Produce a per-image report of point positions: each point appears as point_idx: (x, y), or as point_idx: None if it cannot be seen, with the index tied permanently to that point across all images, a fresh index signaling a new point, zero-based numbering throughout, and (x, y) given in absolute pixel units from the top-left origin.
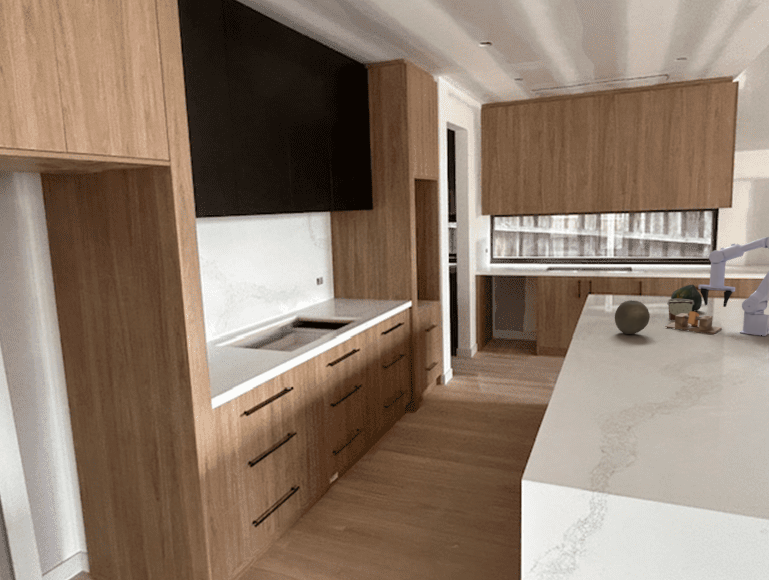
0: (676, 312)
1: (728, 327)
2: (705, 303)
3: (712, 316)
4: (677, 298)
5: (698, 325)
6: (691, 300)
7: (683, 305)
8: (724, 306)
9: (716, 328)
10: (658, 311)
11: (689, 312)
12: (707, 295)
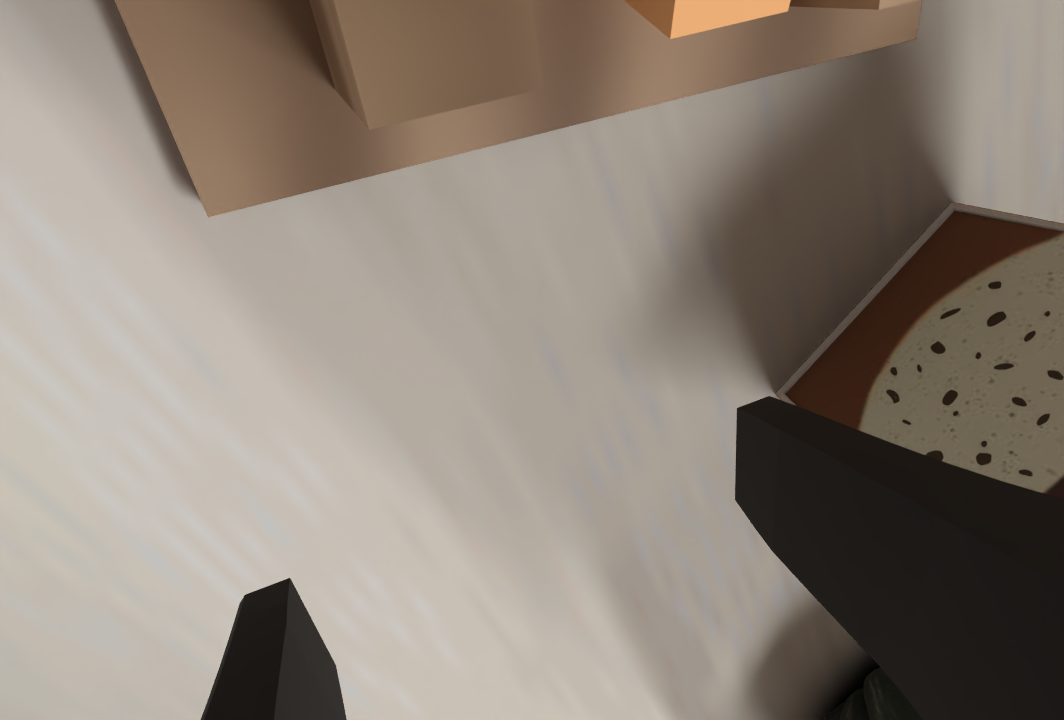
0: (996, 306)
1: (248, 428)
2: (786, 417)
3: (365, 116)
4: None
5: (566, 46)
6: None
7: (1028, 437)
8: (254, 600)
9: (191, 18)
10: None
11: None
12: (963, 714)
